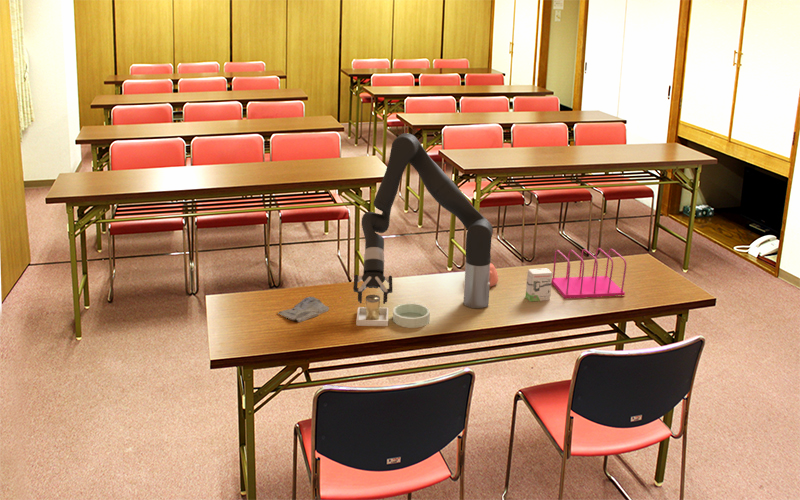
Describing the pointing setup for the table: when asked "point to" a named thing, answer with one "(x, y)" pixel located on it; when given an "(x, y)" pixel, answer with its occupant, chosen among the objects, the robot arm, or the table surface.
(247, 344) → the table surface
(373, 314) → the glass jar with lid
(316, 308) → the fossil rock
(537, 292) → the ink box
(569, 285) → the file sorter
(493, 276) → the teapot
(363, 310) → the parts tray
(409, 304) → the bowl
